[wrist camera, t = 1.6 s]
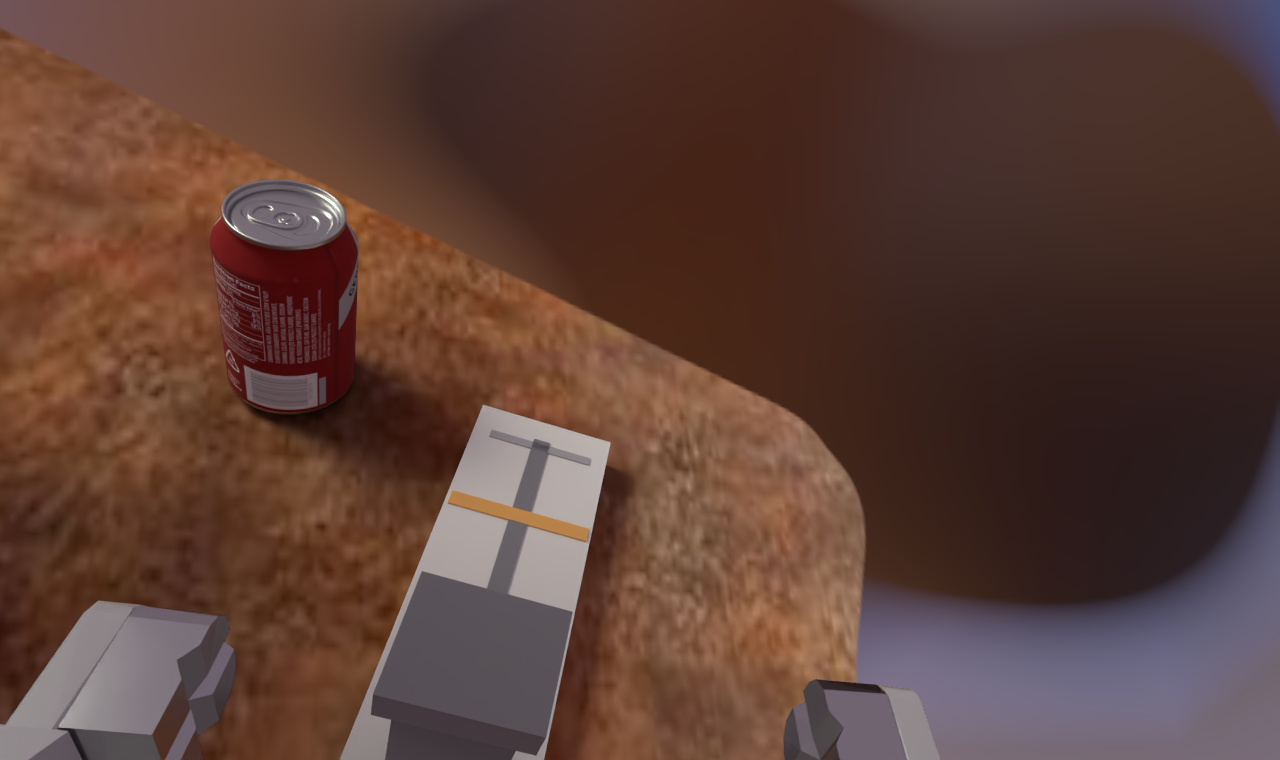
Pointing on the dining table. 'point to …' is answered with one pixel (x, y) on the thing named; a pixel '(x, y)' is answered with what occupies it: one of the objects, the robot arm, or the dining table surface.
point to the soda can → (286, 295)
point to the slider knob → (470, 673)
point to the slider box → (507, 532)
